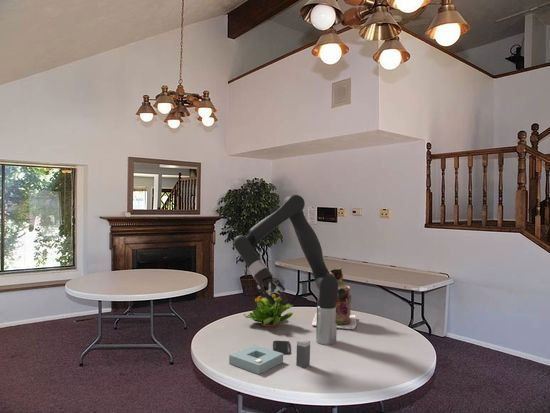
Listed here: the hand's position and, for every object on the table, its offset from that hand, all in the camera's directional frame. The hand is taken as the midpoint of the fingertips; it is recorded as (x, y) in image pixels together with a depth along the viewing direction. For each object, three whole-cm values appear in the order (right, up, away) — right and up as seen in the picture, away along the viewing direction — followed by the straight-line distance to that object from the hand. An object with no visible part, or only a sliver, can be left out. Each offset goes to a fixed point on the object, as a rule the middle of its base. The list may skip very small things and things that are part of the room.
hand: (280, 302), depth 164 cm
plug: (+9, -24, -7) cm, 27 cm away
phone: (+1, -25, +12) cm, 28 cm away
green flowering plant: (-4, -25, +48) cm, 54 cm away
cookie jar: (+32, -26, +55) cm, 68 cm away
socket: (-10, -24, -6) cm, 26 cm away
